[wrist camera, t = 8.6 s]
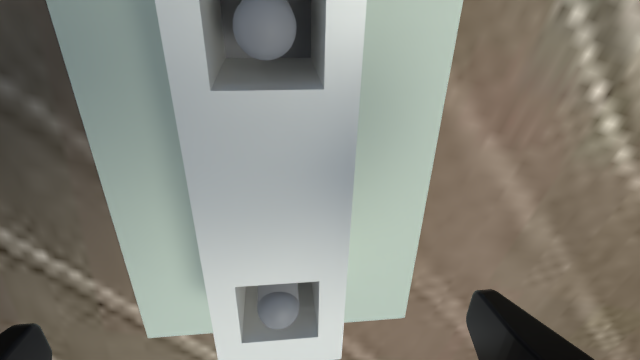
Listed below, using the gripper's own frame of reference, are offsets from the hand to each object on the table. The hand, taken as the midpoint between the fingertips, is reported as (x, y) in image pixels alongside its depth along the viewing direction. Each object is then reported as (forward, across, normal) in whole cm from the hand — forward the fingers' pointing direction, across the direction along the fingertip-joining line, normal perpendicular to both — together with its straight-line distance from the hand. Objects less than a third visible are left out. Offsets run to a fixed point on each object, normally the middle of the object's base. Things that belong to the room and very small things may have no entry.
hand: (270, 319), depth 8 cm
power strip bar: (+8, 0, 0) cm, 9 cm away
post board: (+10, 0, 0) cm, 10 cm away
